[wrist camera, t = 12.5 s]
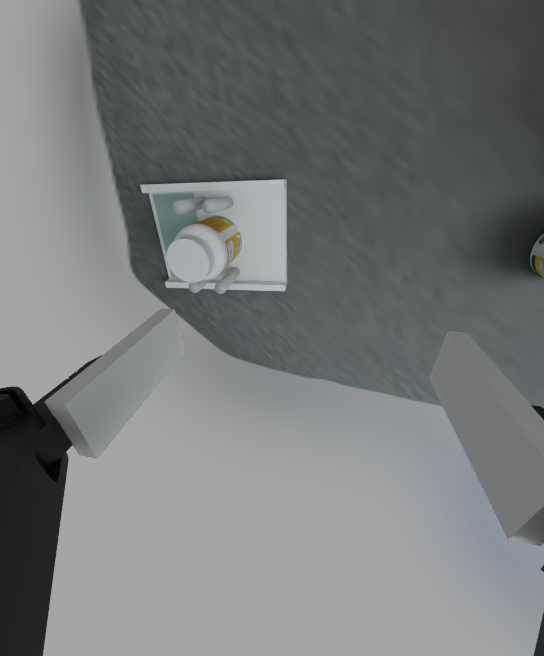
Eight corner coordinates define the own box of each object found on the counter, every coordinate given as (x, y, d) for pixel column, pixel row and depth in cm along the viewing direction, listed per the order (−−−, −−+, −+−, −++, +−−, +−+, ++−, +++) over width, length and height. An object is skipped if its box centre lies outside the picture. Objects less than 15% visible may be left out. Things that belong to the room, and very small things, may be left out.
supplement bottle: (191, 232, 31) (145, 251, 23) (224, 205, 29) (188, 215, 21) (218, 269, 33) (186, 300, 25) (252, 246, 31) (229, 271, 23)
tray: (174, 281, 36) (145, 302, 30) (151, 184, 30) (109, 185, 24) (287, 285, 34) (279, 307, 28) (286, 179, 28) (277, 179, 22)
